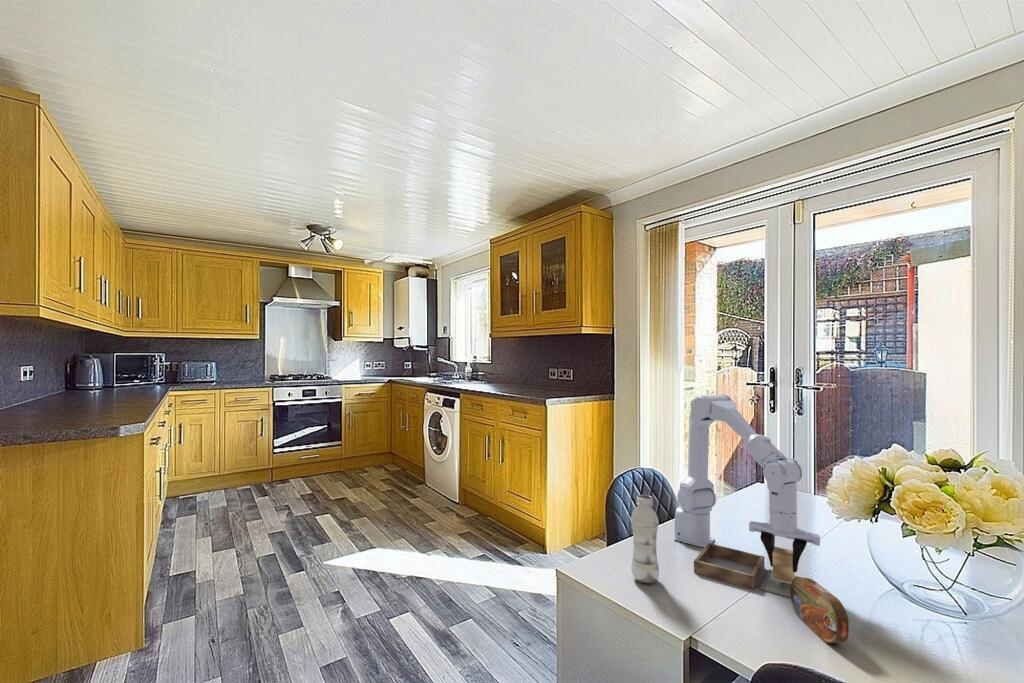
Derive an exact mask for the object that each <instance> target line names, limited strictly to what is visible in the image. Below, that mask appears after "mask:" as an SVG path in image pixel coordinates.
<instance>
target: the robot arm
mask: <svg viewBox="0 0 1024 683" xmlns="http://www.w3.org/2000/svg"><path fill="white" fill-rule="evenodd" d="M716 421H719V422H720V421H721V422H724V423H726V424H727V426H729V427H730V428H731V430H733V431H734V432H735V434H737V436H739V437H740V438H741V439H742V440H743V441H744V442H745V450H746V451H747V452H748V453H749V454H750V456H751V457H752V458H753V459H754V460H755V461H756V463H758V465H759V466H760V467H761V469H762V474H763V477H764V479H765V480H766V483H767V484H766V486H767V489H768V502H769V507H768V508H769V509H768V510H769V511H768V513H769V517H768V518H769V522H768V523H767V522H759V521H752V520H750V521H749V523H748V531H749V532H753V533H754V532H756V533H760V541H761V543H762V545H763V546H764V549H765V551H766V553H767V555H768V560H769V565H770V567H772V568H773V555H772V552H773V550H774V548H775V546H776V545H775V543H776V542H775V539H776V537H780V538H784V539H785V538H786V539H790V540H793V541H792V550H793V572H795V573H797V572H798V568H799V567H798V566H799V561H800V558H801V556H802V554H803V552H804V550H805V548H806V547H807V543H808V544H813V545H815V546H818V547H820V545H821V535H820V534H817V533H812V532H809V531H806V530H804V529H803V530H802V529H799V528H798V502H797V501H798V500H797V499H798V498H797V497H798V495H797V494H798V493H797V492H798V489H797V488H798V486H797V483H798V482H800V480H801V479H802V477H803V471H802V470H803V469H802V468H801V465H800V464H799V463H798V461H797V460H796V459H794V458H791V457H788V456H787V455H785V454H784V453H783V452H781V451H780V450H779V449H778V447H776V446H775V445H774V444H773V443H772V440H771V438H770V437H769V436H766V435H764V434H758V433H757V432H756V431H755V430H754V428H752V426H751V425H750V424H749V422H748V421H747V420H746V419H745V417H743V415H742V414H741V413H740V411H739V410H738V409H737V404H736V401H734V400H733V399H732V398H731V397H730V396H729V395H727V394H724V393H722V394H714V395H713V394H711V395H710V394H709V395H701V394H699V395H697V396H695V397H694V398H693V399H692V400H691V401H690V414H689V416H688V450H687V451H688V452H687V455H688V457H687V458H688V460H687V476H686V477H685V478H684V479H683V480H682V481H681V482H680V483H679V490H678V492H677V494H676V495H677V496H676V497H677V502H678V504H679V506H677V508H676V510H675V513H674V538H673V540H674V541H676V540H677V542H680V541H681V543H684V544H687V545H688V544H689V545H693V546H696V547H701V548H703V549H704V548H705V547H706V546H707V545H708V543H710V544H713V543H714V541H715V537H711V512H712V511H713V507H715V505H716V503H717V495H716V493H715V484H714V483H713V482H712V481H711V480H710V479H709V446H710V445H709V443H710V442H709V441H710V438H709V437H710V434H709V433H710V426H711V425H712V424H713V423H714V422H716Z"/></svg>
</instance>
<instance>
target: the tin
mask: <svg viewBox="0 0 1024 683" xmlns="http://www.w3.org/2000/svg"><path fill="white" fill-rule="evenodd" d="M801 577H802V576H798V577H795V578H794V579H793V580H792V583H791V587H790V595H791V598H790V600H791V604H792V605H791V606H792V608H793V609H794V612H795V614H796V615H797V617H798V618H799V619H800V620H801V621H802V622H803V624H805V625H806V626H807V627H808V628H809V629H811V631H813V633H814V634H816V635H817V637H819V638H820V639H821V640H822V641H823V642H825V643H827V644H843V643H845V642H846V641H847V640H848V638H849V627H850V625H849V622H850V620H849V616H848V613H847V610H846V608H845V607H844V604H842V602H841V601H840V600H839V599H838V598H837V596H835V595H833V594H832V593H831V592H830V591H829V590H827V589H826V588H825V587H823V586H822V585H821V584H819V583H818V582H817V581H815V580H814V579H812V578H809V577H802V578H801Z"/></svg>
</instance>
